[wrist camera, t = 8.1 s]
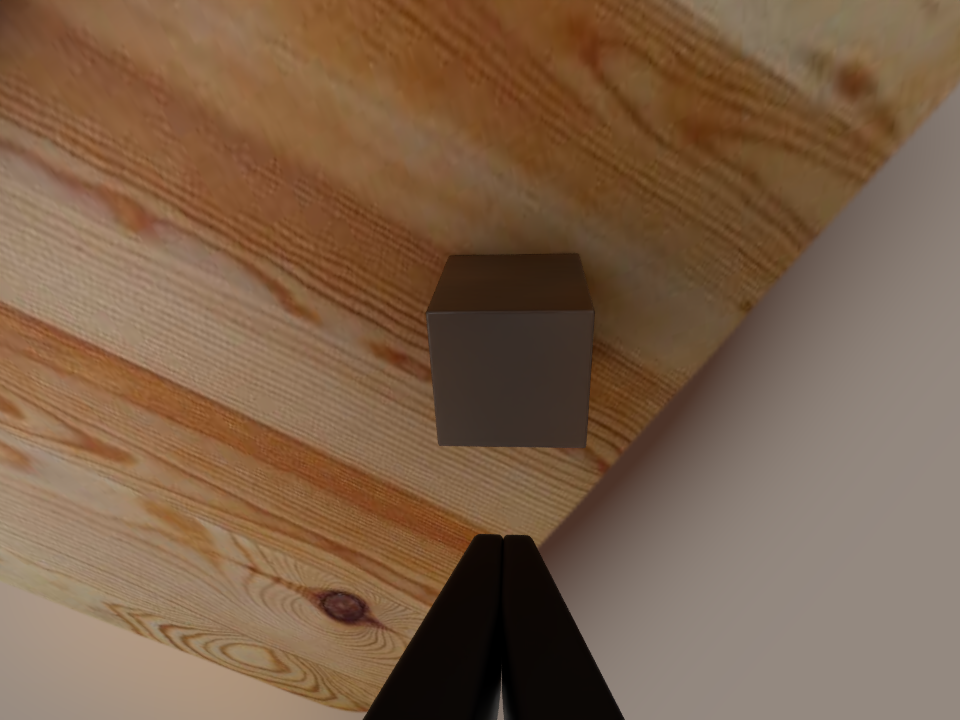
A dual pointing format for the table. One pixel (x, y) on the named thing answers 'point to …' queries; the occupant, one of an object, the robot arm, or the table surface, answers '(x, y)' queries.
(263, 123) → the table surface
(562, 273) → the block
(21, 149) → the table surface
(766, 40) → the table surface
